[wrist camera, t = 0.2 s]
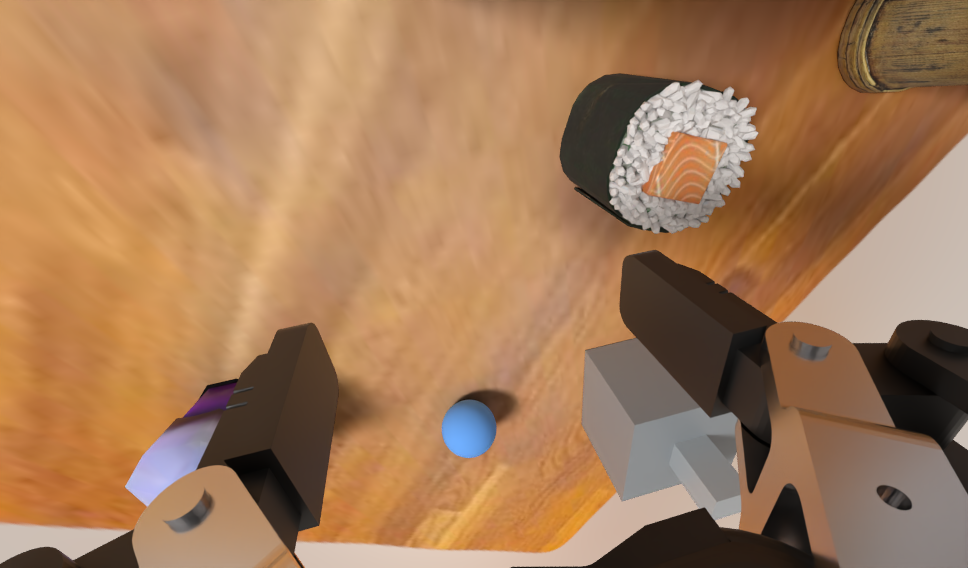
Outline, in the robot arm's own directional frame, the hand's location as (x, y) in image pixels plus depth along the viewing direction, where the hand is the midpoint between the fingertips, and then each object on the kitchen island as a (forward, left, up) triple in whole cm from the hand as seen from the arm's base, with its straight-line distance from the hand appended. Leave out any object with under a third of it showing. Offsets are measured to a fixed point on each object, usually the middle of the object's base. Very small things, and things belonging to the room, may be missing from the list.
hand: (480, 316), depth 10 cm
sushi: (+1, +13, -18) cm, 22 cm away
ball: (+24, -1, -15) cm, 28 cm away
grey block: (+26, +17, -18) cm, 36 cm away
